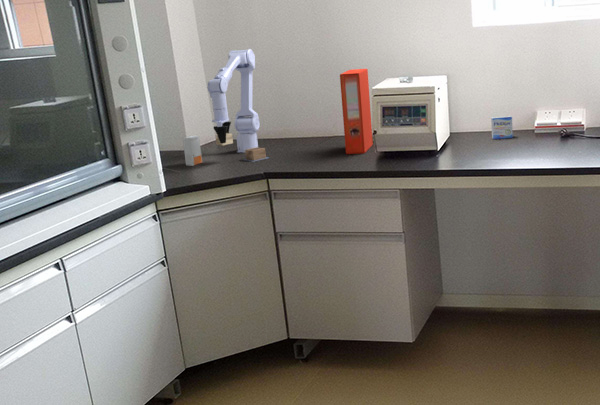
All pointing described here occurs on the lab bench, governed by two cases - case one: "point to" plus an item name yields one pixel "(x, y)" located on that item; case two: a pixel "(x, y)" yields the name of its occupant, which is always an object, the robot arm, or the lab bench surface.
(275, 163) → the lab bench surface
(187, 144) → the skincare box
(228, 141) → the maple block
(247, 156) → the base block
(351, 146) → the file binder
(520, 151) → the lab bench surface
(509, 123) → the medicine box
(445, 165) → the lab bench surface
